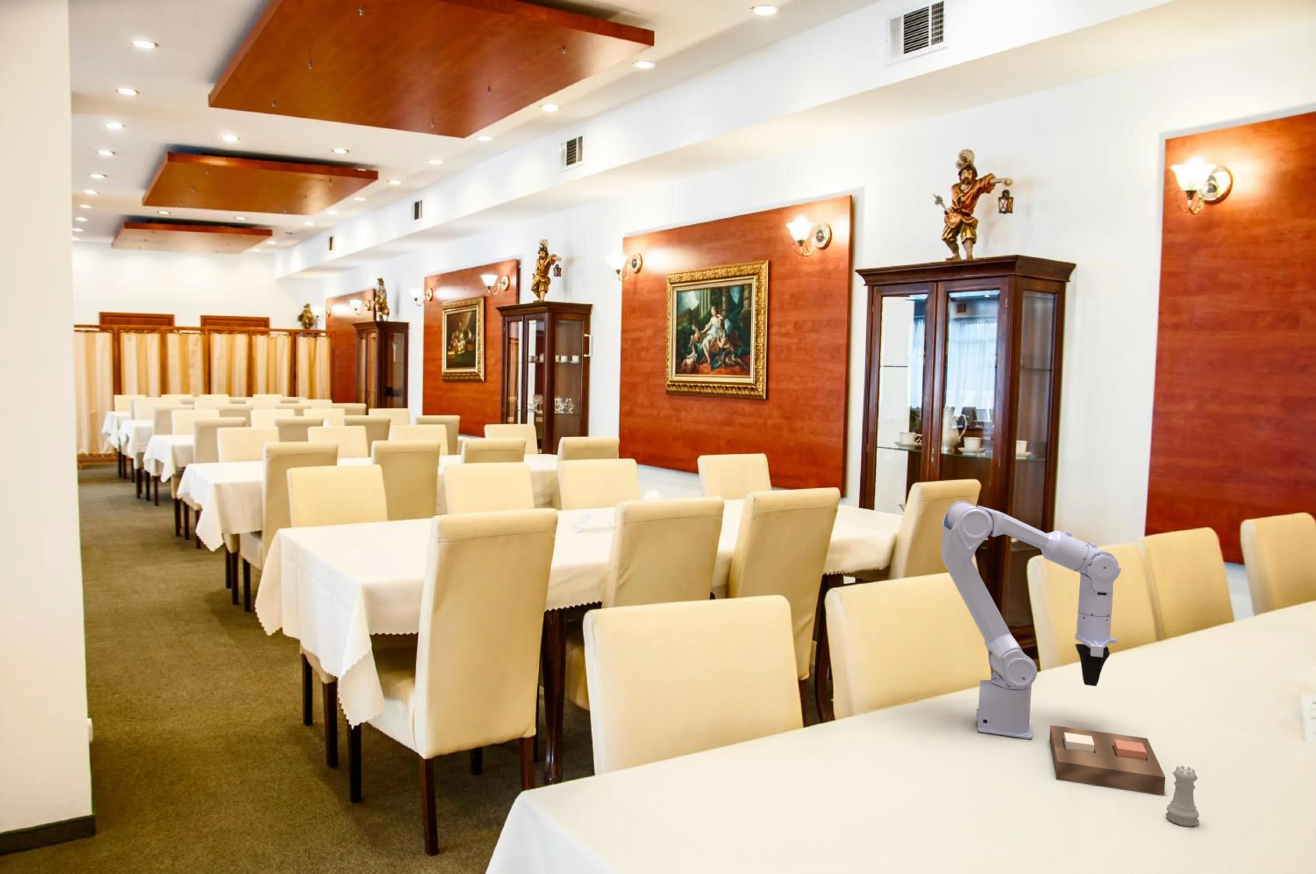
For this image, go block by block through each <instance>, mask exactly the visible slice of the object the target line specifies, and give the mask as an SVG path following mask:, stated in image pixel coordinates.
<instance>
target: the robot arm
mask: <svg viewBox="0 0 1316 874" xmlns="http://www.w3.org/2000/svg"><path fill="white" fill-rule="evenodd" d="M941 527H942V528H941V529H942V536H941V537H942V539H941V550H940V551H941V553H940V558H941V560H942V562H943V565H944V567H945V568H946V569H947V572H948V573H949V576H950V577H951V580H952V581H953V583H954V585H955V587H956V589H957V591H958V593H959V595H960V596H961V598H962V601H964V604H965V606H966V608H967V610H968V611H969V613H970V615H971V617H972V618H973V621H974V622H975V624H976V627H977V628H978V630H979V632H980V634H981V635H982V637H983V639H984V645H985V647H986V649H987V651H988V652H987V653H988V664H989V665H990V668H991V669H992V670H993V672H992V674H991V677H990V679H980V680H979V690H978V691H979V692H978V694H979V695H978V708H976V716H975V718H976V719H977V732H979V733H986V734H991V735H992V734H994V735H997V736H1000V735H1001V736H1007V737H1012V738H1013V737H1014V738H1022V739H1028V740H1032V739H1033V733H1032V727H1031V722H1030V719H1031V718H1030V717H1031V702H1032V701H1031V699H1032V684H1033V683H1034V682H1035V680H1036V679H1037V674H1038V668H1037V665H1036V663H1035V662H1034V660H1033V659H1032V658H1031V657H1030V656H1028V655H1027V654H1025V652H1024V651H1023V650H1022V648H1021V646H1020V645H1019V642H1017V640H1016V638H1014V636H1013V635H1012V633H1011V632H1010V629H1009V628H1008V626H1007V624H1006V622H1005V620H1004V619H1003V616H1002V613H1000V611H999V609H998V607H997V605H996V603H995V601H994V600H993V597H992V595H991V594H990V591H989V590H988V588H987V587H986V584H985V583H984V581H983V579H982V576H981V575H980V573H979V571H978V570H977V568H976V565H975V564H974V562H973V558H974V556H975V553H976V551H977V549H978V547H980V545H981V544H982V543H983V542H984V541H985V540H986V539H987V538H988V536H991V537H993V538H994V537H995V538H996V537H998V536H1001V535H1006V536H1009V537H1011V538H1013V539H1016V540H1019V541H1021V542H1024V543H1026V544H1029V545H1031V546H1033V547H1036V548H1038V549H1040V551H1041V554H1042V556H1043V559H1045V560H1047V561H1051V562H1052V563H1054V564H1056V565H1057V564H1058V565H1059V566H1061V567H1064V568H1066V569H1068V570H1070V571H1073V572H1076V573H1079V574H1080V575H1079V577H1080V578H1079V589H1078V607H1077V608H1078V609H1077V621H1076V622H1077V623H1076V633H1075V636H1074V639H1075V640H1076V641H1079V642H1080V643H1075V644H1074V646H1075V649H1076V651H1077V653H1078V655H1079V660H1080V665H1081V674H1082V675H1081V676H1082V680H1083V683H1084V686H1090V687H1091V686H1092V687H1097V686H1098V683H1099V680H1100V677H1101V672H1102V670H1103V667H1104V665H1105V663H1106V661H1107V659H1108V658H1109V657H1110V655H1111V653H1110V649H1109V647H1108V646H1109V645H1110V644H1117V642H1118V639H1117V637H1113V636H1111V631H1112V630H1111V627H1112V614H1113V613H1112V611H1113V596H1114V582H1115V581H1116V579H1118V577H1119V576H1120V574H1121V569H1122V568H1121V567H1120V566H1119V561H1118V560H1117V558H1116V557H1115V555H1113V554H1112V553H1110V552H1108V551H1105V550H1103V549H1102V548H1099V547H1097V546H1096V544H1095V543H1093V542H1091V541H1088V542H1085V541H1082V540H1080V539H1078V538H1075V537H1073V533H1072V532H1070V531H1068V530H1065V529H1064V530H1062V531H1060V530H1055V531H1051V532H1047V533H1046V532H1044V531H1042V530H1040V529H1038V528H1036V527H1033V526H1031V525H1029V524H1027V523H1025V522H1023V521H1020V520H1019V519H1017V518H1014V517H1012V516H1010V515H1008V514H1006V513H1004V512H1001V511H1000V510H995V509H992V508H988V507H984V506H981V505H977V506H975V505H974V504H972V503H971V502H969V501H964V500H959V501H956V502H954V503H952V504H951V505H950V506H949V507H948V508H947V510H946V512H945V514H944V516H943V518H942V521H941Z"/></svg>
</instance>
